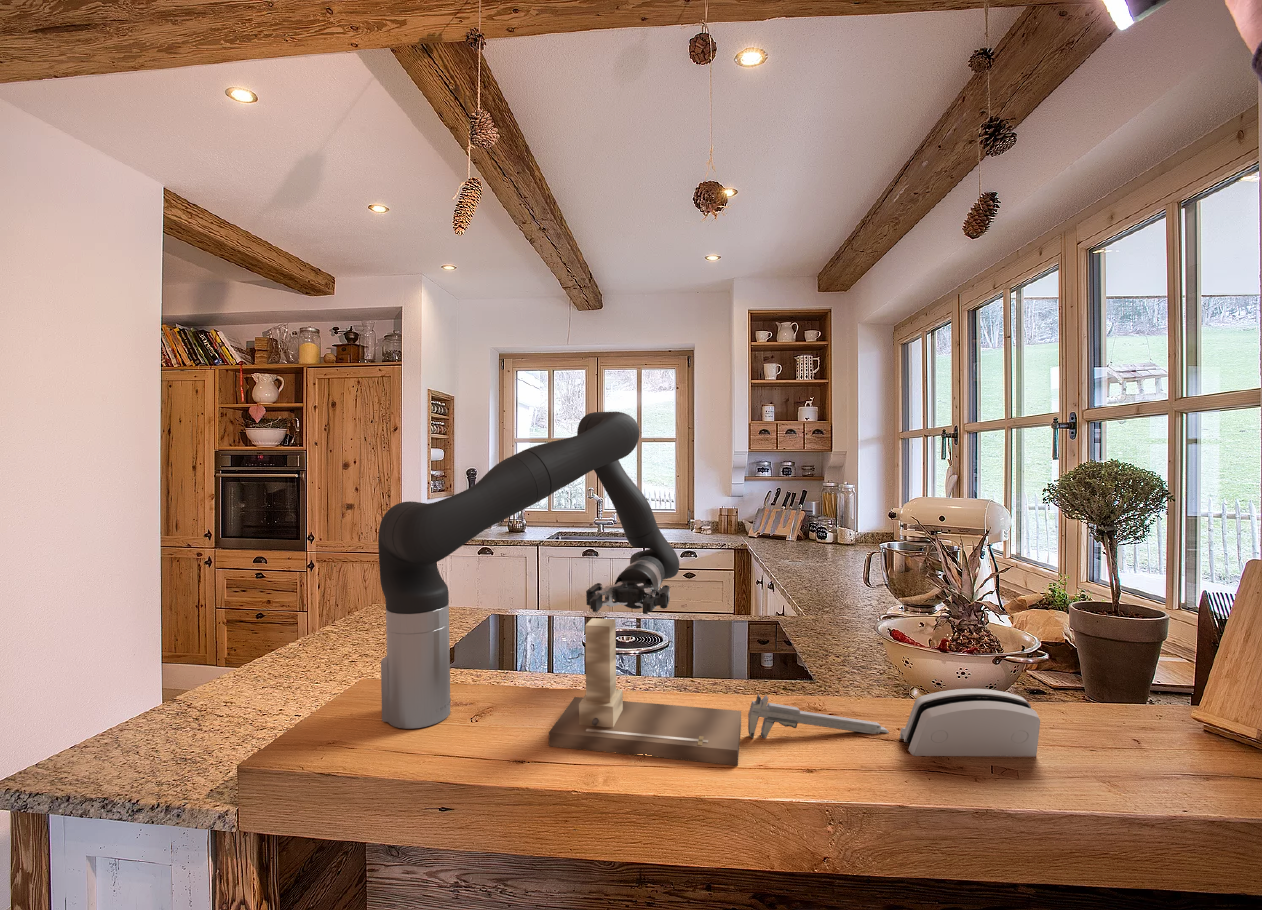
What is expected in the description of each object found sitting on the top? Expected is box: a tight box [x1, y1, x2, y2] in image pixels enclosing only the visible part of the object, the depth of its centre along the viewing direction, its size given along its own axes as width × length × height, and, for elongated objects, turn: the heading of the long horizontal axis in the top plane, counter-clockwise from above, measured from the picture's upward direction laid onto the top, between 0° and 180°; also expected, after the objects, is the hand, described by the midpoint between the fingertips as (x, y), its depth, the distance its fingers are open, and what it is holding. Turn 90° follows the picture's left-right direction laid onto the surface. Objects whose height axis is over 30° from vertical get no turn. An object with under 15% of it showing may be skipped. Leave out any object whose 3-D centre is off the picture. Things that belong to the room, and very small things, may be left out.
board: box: [548, 696, 742, 766], centre depth 89 cm, size 26×12×2 cm, turn 78°
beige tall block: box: [579, 617, 624, 728], centre depth 90 cm, size 5×7×14 cm
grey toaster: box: [899, 688, 1041, 758], centre depth 84 cm, size 17×5×10 cm, turn 88°
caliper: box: [747, 693, 890, 739], centre depth 89 cm, size 20×1×6 cm, turn 94°
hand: (619, 607), depth 101 cm, fingers open, 8 cm apart
